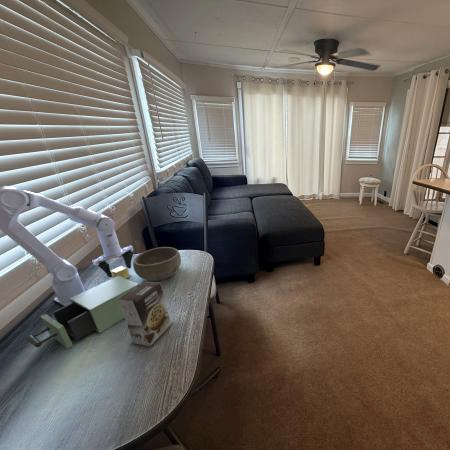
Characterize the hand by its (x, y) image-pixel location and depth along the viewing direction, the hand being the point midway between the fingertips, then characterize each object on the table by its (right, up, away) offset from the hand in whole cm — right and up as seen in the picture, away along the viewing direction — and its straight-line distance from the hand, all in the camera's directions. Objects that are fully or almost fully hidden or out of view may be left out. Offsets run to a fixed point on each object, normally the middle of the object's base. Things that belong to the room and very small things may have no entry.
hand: (119, 272), depth 103 cm
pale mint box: (+13, -10, -19) cm, 25 cm away
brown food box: (+32, -14, -29) cm, 45 cm away
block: (0, -3, +1) cm, 3 cm away
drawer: (+8, -13, -29) cm, 32 cm away
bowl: (+17, -2, +3) cm, 17 cm away
